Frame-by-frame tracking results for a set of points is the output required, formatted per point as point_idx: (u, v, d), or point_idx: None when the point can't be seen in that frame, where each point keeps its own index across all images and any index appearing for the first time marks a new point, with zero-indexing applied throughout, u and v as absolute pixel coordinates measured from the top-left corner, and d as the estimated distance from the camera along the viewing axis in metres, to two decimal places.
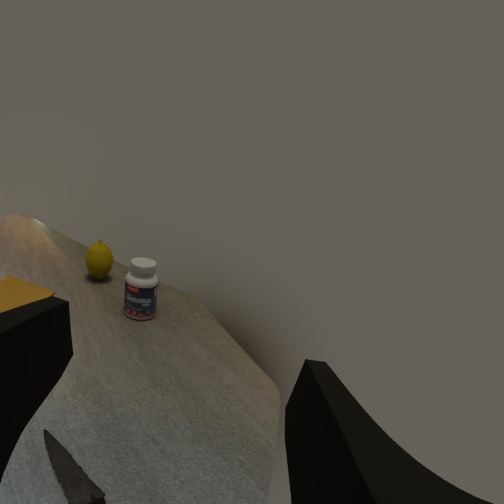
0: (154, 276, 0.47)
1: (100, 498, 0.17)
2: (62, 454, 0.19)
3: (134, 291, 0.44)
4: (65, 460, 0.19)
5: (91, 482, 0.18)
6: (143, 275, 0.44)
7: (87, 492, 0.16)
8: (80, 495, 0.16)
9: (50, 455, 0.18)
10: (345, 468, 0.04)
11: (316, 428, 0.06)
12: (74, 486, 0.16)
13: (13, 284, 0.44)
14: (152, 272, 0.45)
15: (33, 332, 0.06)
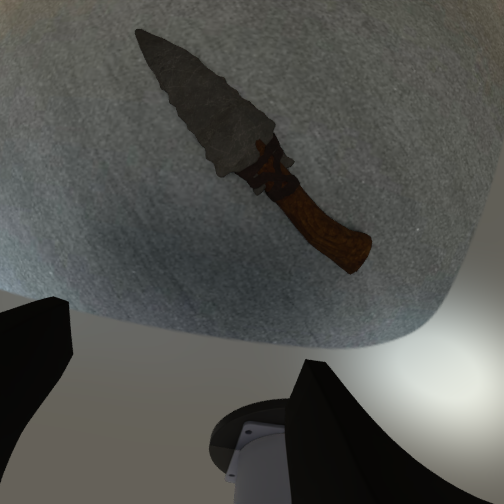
0: None
1: (271, 141, 0.14)
2: (183, 65, 0.13)
3: None
4: (191, 76, 0.13)
5: (249, 107, 0.13)
6: None
7: (247, 136, 0.13)
8: (235, 148, 0.13)
9: (160, 78, 0.13)
10: (345, 468, 0.04)
11: (316, 428, 0.06)
12: (220, 130, 0.13)
13: None
14: None
15: (33, 332, 0.06)
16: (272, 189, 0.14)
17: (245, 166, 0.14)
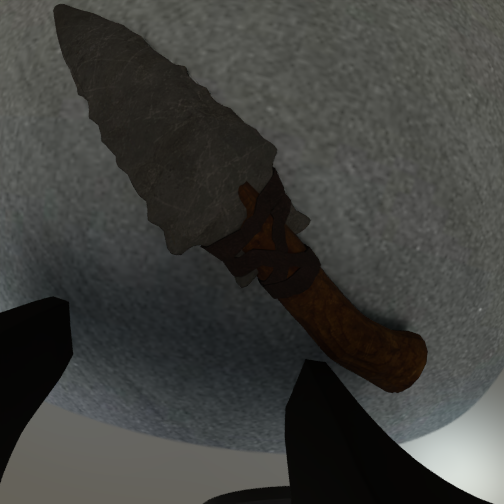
0: None
1: (269, 184, 0.07)
2: (113, 50, 0.06)
3: None
4: (124, 68, 0.07)
5: (227, 119, 0.07)
6: None
7: (222, 177, 0.07)
8: (200, 201, 0.07)
9: (77, 76, 0.07)
10: (345, 468, 0.04)
11: (316, 428, 0.06)
12: (172, 168, 0.07)
13: None
14: None
15: (33, 332, 0.06)
16: (269, 279, 0.08)
17: (219, 236, 0.07)
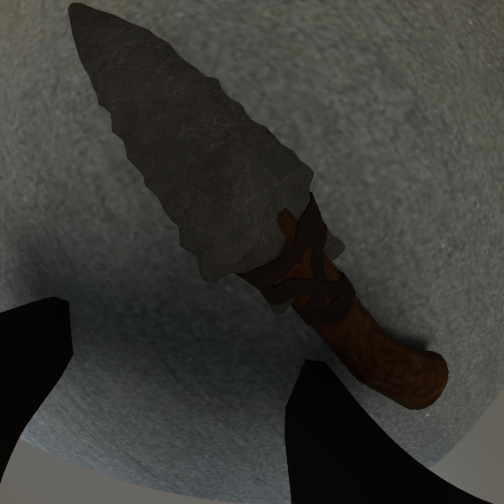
0: None
1: (308, 211, 0.07)
2: (138, 57, 0.06)
3: None
4: (152, 79, 0.06)
5: (265, 140, 0.07)
6: None
7: (262, 204, 0.07)
8: (238, 228, 0.07)
9: (97, 84, 0.06)
10: (345, 468, 0.04)
11: (316, 428, 0.06)
12: (208, 191, 0.07)
13: None
14: None
15: (33, 332, 0.06)
16: (306, 307, 0.07)
17: (257, 264, 0.07)
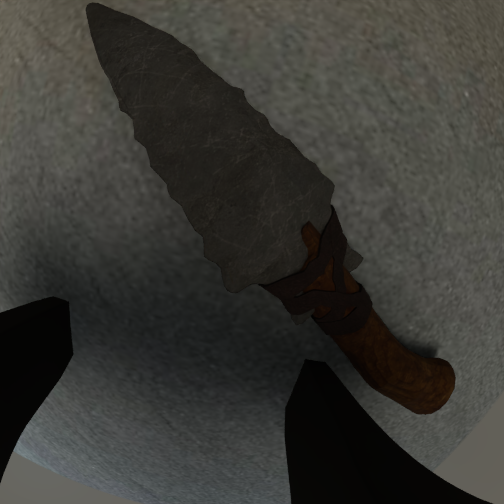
0: None
1: (330, 224, 0.07)
2: (162, 62, 0.06)
3: None
4: (177, 86, 0.06)
5: (289, 153, 0.07)
6: None
7: (286, 217, 0.07)
8: (263, 241, 0.07)
9: (119, 89, 0.06)
10: (345, 468, 0.04)
11: (316, 428, 0.06)
12: (234, 203, 0.07)
13: None
14: None
15: (33, 332, 0.06)
16: (325, 317, 0.07)
17: (280, 276, 0.07)
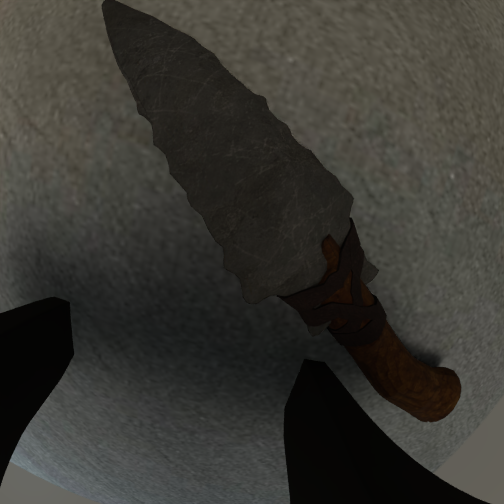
0: None
1: (349, 237, 0.07)
2: (183, 66, 0.06)
3: None
4: (199, 92, 0.06)
5: (311, 164, 0.07)
6: None
7: (308, 230, 0.07)
8: (284, 253, 0.07)
9: (137, 91, 0.06)
10: (343, 468, 0.04)
11: (315, 428, 0.06)
12: (256, 215, 0.07)
13: None
14: None
15: (34, 332, 0.06)
16: (341, 329, 0.07)
17: (299, 288, 0.07)
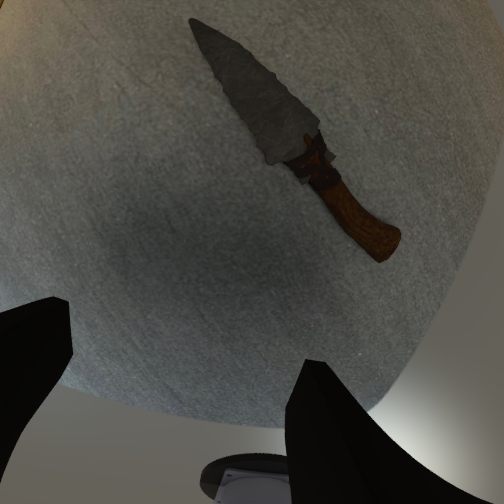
0: None
1: (317, 135, 0.14)
2: (237, 57, 0.13)
3: None
4: (245, 69, 0.14)
5: (297, 103, 0.14)
6: None
7: (296, 129, 0.14)
8: (285, 139, 0.14)
9: (214, 67, 0.14)
10: (345, 468, 0.04)
11: (316, 428, 0.06)
12: (272, 122, 0.14)
13: None
14: None
15: (33, 332, 0.06)
16: (316, 180, 0.15)
17: (293, 157, 0.14)
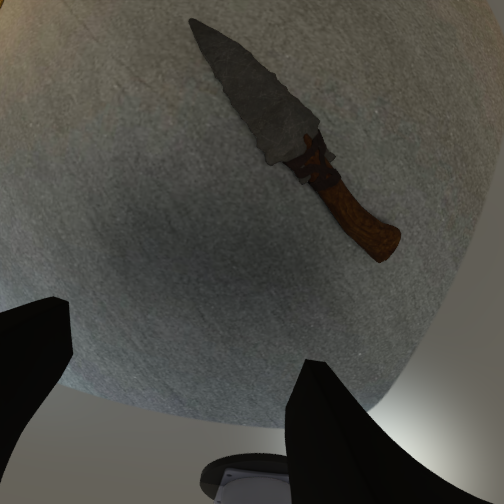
0: None
1: (317, 136, 0.14)
2: (237, 57, 0.13)
3: None
4: (245, 69, 0.14)
5: (297, 103, 0.14)
6: None
7: (296, 129, 0.14)
8: (285, 139, 0.14)
9: (214, 67, 0.14)
10: (345, 468, 0.04)
11: (316, 428, 0.06)
12: (272, 122, 0.14)
13: None
14: None
15: (33, 332, 0.06)
16: (316, 180, 0.15)
17: (293, 157, 0.14)
